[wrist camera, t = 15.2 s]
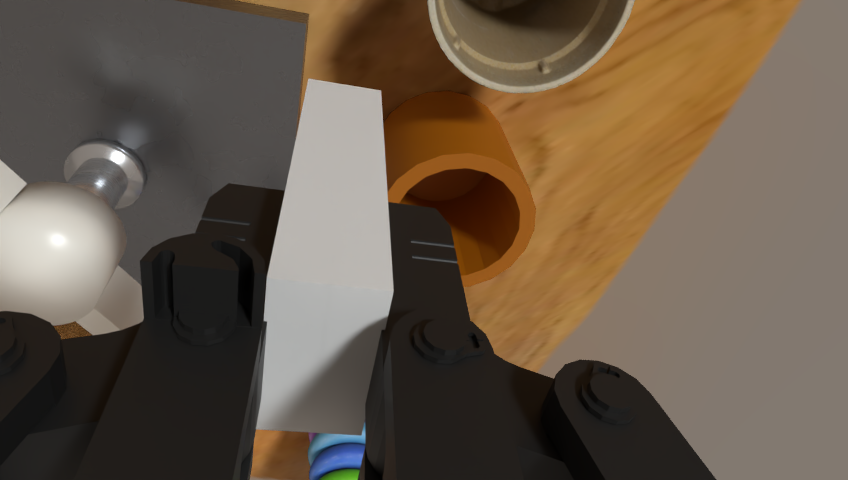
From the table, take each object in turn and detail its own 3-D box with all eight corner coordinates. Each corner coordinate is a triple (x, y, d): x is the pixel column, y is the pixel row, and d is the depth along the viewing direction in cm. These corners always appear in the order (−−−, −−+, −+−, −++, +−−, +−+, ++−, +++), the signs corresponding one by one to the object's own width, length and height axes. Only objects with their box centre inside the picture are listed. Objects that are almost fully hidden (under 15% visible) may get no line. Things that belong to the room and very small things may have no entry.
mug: (337, 221, 43) (330, 302, 36) (405, 67, 38) (414, 126, 30) (450, 259, 46) (465, 343, 38) (530, 121, 40) (567, 188, 33)
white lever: (-80, 171, 30) (-134, 216, 26) (10, 111, 28) (-37, 150, 25) (180, 383, 39) (163, 435, 36) (256, 345, 38) (246, 395, 35)
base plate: (-128, -66, 31) (-384, -4, 20) (308, 14, 35) (285, 100, 24) (-36, 273, 43) (-167, 423, 32) (281, 304, 47) (257, 447, 36)
